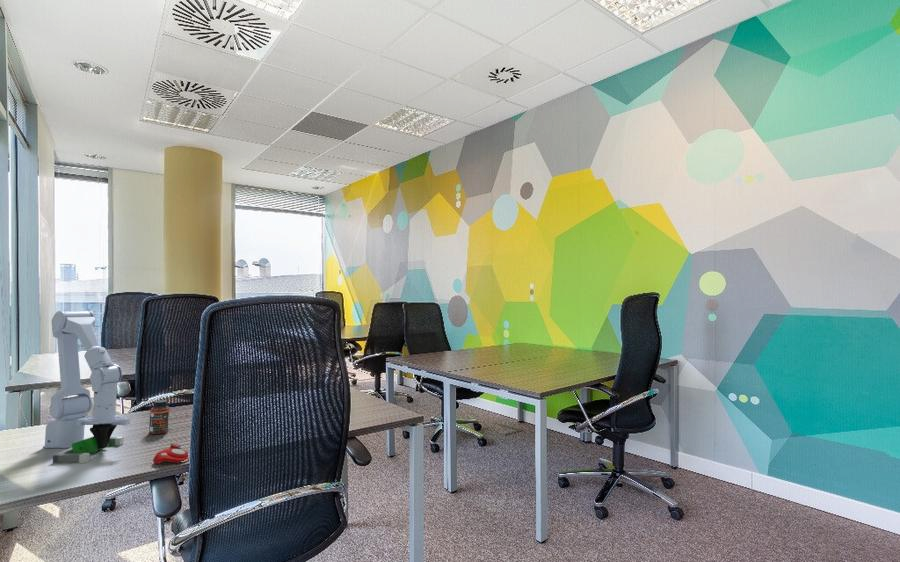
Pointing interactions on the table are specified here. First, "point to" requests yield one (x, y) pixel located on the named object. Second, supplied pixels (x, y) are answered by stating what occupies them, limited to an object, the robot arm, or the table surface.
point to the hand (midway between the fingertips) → (102, 448)
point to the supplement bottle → (159, 417)
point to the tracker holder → (171, 455)
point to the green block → (86, 446)
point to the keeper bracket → (71, 457)
